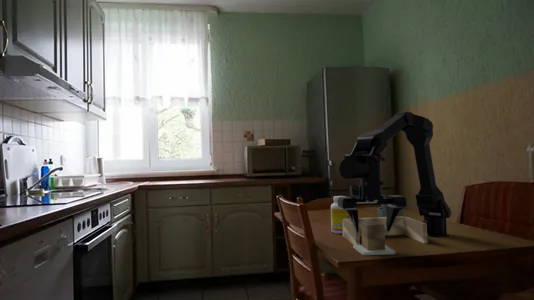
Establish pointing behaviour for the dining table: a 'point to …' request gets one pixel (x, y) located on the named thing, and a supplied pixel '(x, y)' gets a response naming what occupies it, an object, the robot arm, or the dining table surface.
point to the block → (373, 235)
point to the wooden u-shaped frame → (399, 227)
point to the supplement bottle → (337, 216)
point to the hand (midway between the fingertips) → (372, 231)
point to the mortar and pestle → (383, 212)
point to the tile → (373, 252)
